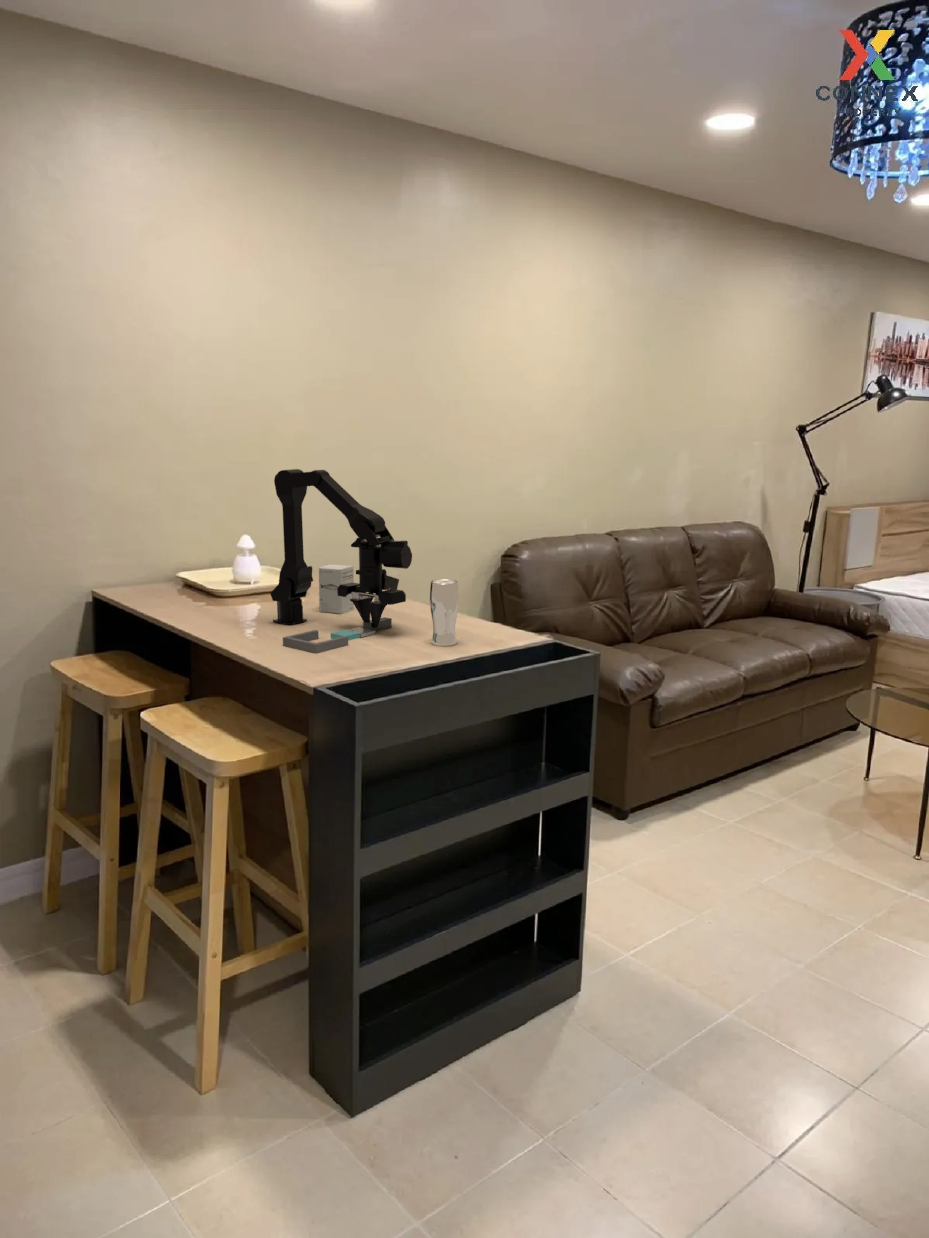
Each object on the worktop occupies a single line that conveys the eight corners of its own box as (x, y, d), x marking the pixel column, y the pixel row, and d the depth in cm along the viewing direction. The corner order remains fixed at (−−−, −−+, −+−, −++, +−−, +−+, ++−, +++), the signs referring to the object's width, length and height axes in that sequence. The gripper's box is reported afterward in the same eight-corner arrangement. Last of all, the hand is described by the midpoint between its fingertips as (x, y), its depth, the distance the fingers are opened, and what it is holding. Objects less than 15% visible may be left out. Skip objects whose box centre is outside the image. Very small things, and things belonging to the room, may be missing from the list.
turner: (379, 625, 234) (379, 616, 233) (396, 628, 230) (396, 619, 230) (343, 633, 224) (343, 624, 223) (361, 637, 220) (361, 627, 220)
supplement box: (318, 612, 250) (317, 567, 247) (332, 607, 256) (331, 563, 254) (341, 614, 247) (340, 569, 244) (355, 609, 254) (354, 565, 251)
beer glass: (429, 639, 219) (428, 579, 216) (457, 639, 219) (457, 578, 216) (430, 646, 212) (430, 584, 209) (459, 646, 213) (460, 583, 209)
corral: (283, 645, 212) (282, 637, 212) (315, 637, 220) (314, 629, 220) (316, 653, 205) (316, 644, 205) (348, 644, 213) (348, 636, 213)
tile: (330, 639, 220) (330, 633, 219) (345, 635, 224) (345, 629, 223) (345, 642, 217) (345, 636, 216) (359, 638, 221) (359, 632, 220)
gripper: (420, 565, 224) (420, 626, 228) (365, 558, 236) (366, 616, 239) (390, 571, 216) (390, 634, 219) (335, 563, 227) (336, 623, 230)
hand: (371, 626), depth 227 cm, fingers closed on turner, 2 cm apart
